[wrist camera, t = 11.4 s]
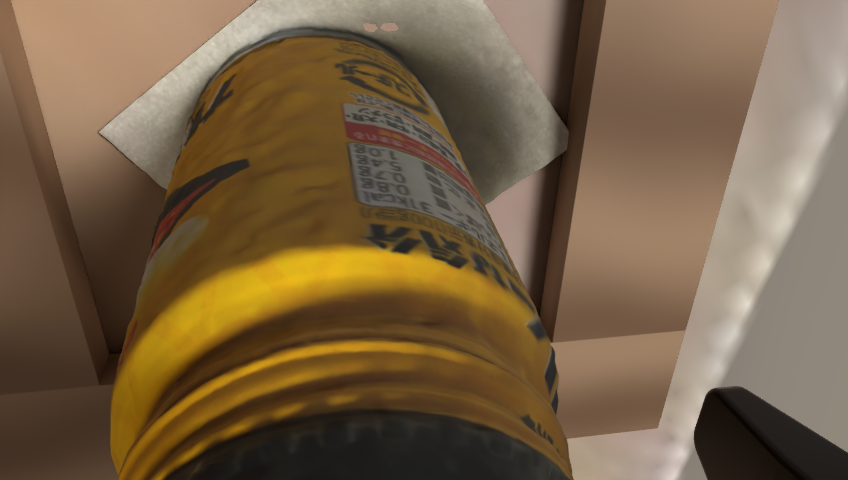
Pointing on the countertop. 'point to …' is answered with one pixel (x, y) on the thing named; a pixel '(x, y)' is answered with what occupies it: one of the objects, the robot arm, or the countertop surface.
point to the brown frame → (568, 252)
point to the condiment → (338, 254)
